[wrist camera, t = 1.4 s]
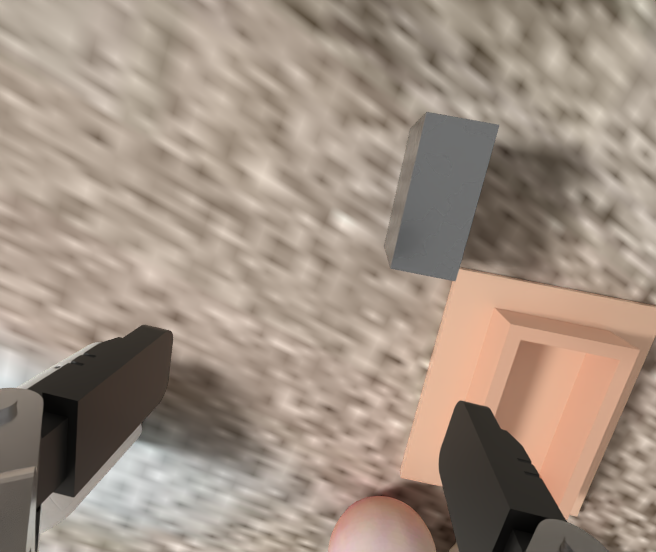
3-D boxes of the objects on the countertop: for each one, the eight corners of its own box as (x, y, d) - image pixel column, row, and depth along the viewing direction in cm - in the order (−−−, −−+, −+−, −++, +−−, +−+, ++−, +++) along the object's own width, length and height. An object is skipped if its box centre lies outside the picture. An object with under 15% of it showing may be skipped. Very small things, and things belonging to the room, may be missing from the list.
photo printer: (76, 343, 36) (-66, 424, 24) (118, 336, 36) (-6, 417, 24) (110, 438, 39) (-4, 556, 27) (150, 434, 38) (52, 552, 26)
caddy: (399, 471, 36) (404, 510, 32) (456, 266, 31) (471, 280, 27) (572, 508, 36) (600, 553, 31) (659, 306, 31) (707, 327, 26)
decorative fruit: (437, 475, 36) (463, 584, 26) (421, 544, 38) (441, 668, 29) (337, 459, 37) (327, 560, 27) (327, 528, 39) (314, 644, 29)
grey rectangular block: (410, 129, 29) (426, 111, 21) (463, 138, 29) (499, 124, 21) (384, 245, 31) (390, 268, 24) (433, 255, 31) (455, 281, 24)
